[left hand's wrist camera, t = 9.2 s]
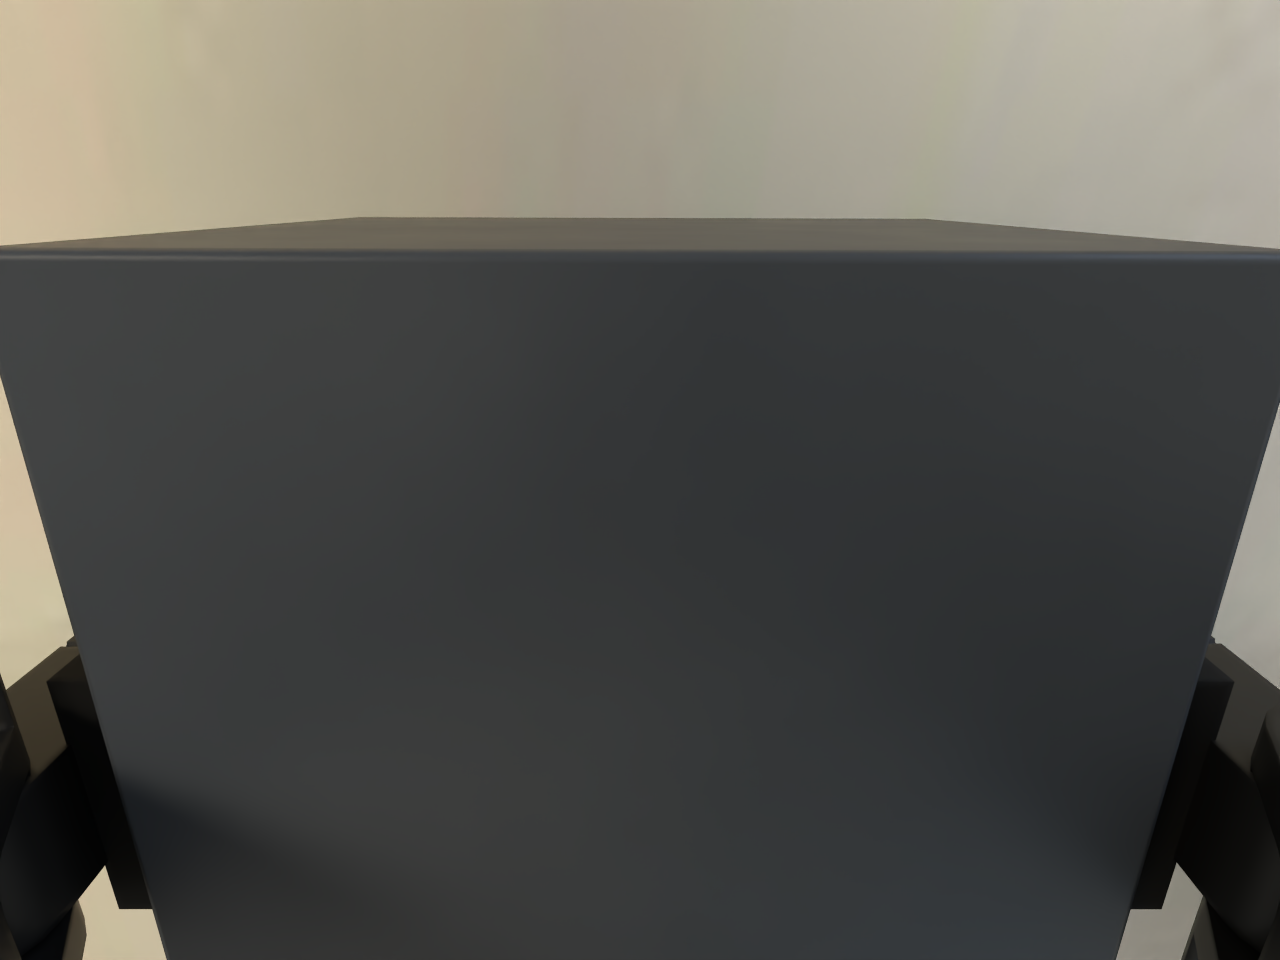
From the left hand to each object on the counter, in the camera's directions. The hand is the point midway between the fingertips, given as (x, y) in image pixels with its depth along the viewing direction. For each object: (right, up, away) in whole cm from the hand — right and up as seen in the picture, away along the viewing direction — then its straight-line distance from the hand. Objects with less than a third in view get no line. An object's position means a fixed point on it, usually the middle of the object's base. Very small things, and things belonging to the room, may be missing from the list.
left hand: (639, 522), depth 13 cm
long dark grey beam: (0, -21, +8) cm, 22 cm away
